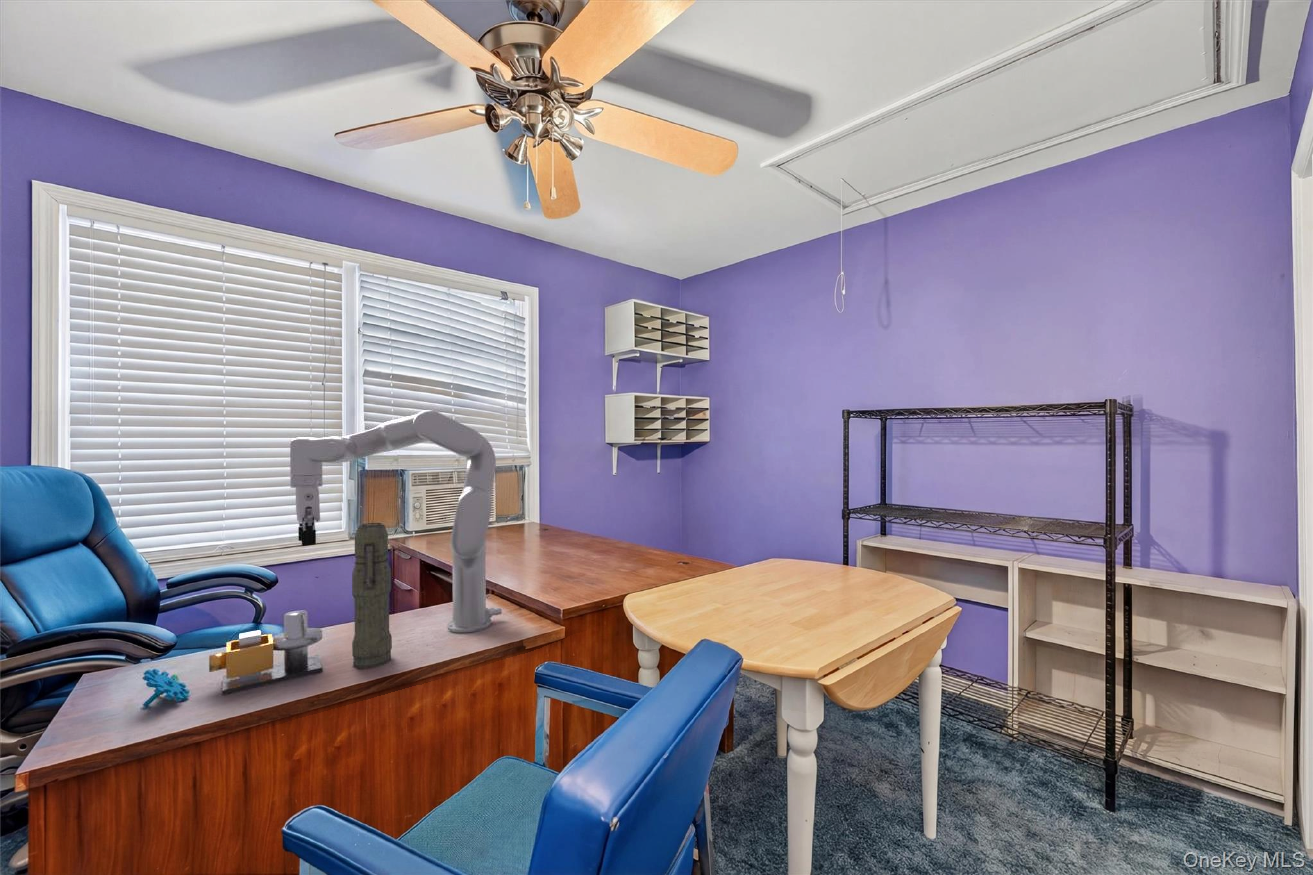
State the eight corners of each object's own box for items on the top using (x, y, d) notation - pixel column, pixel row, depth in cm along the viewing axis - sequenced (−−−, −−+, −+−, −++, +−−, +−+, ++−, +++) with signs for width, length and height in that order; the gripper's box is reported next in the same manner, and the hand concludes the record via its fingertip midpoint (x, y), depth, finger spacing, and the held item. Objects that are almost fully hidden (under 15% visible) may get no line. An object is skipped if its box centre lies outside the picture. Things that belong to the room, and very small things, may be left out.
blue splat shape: (183, 700, 112) (140, 672, 110) (156, 726, 109) (112, 698, 107) (200, 686, 122) (161, 660, 120) (176, 710, 119) (136, 684, 117)
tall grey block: (260, 671, 127) (260, 629, 128) (261, 677, 124) (260, 634, 124) (239, 676, 125) (239, 633, 125) (239, 682, 122) (239, 638, 122)
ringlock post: (319, 657, 138) (319, 603, 138) (325, 671, 129) (324, 614, 129) (210, 681, 124) (210, 622, 125) (208, 699, 116) (208, 635, 116)
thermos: (390, 649, 142) (389, 520, 143) (393, 665, 132) (392, 525, 133) (352, 656, 138) (351, 522, 139) (352, 673, 128) (351, 528, 128)
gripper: (326, 482, 144) (326, 545, 143) (318, 479, 157) (319, 537, 157) (292, 483, 139) (293, 549, 139) (288, 480, 153) (288, 540, 152)
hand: (307, 542), depth 148 cm, fingers open, 9 cm apart
